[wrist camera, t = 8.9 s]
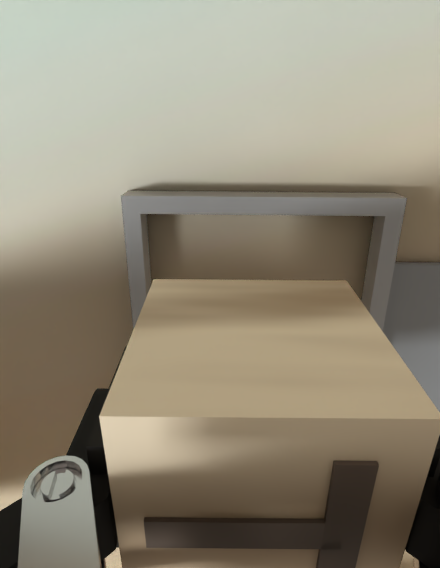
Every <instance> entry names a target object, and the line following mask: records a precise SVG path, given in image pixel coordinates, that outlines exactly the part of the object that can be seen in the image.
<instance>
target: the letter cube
mask: <svg viewBox="0 0 440 568" xmlns="http://www.w3.org/2000/svg"><path fill="white" fill-rule="evenodd" d="M99 419H100V425H101V432H102V438H103V445H104V451H105V458H106V464H107V471H108V477H109V484H110V490H111V497H112V503H113V510H114V516H115V523H116V529H117V536H118V542H119V549H120V555H121V562H122V568H399V567H400V564H401V561H402V557H403V554H404V551H405V547H406V544H407V541H408V537H409V534H410V531H411V528H412V524H413V521H414V518H415V514H416V511H417V508H418V504H419V501H420V498H421V495H422V491H423V488H424V485H425V481H426V478H427V475H428V471H429V468H430V465H431V462H432V458H433V455H434V452H435V448H436V445H437V442H438V438H439V435H440V412H439V411H438V409H437V408H436V407H435V405H434V404H433V402H432V401H431V399H430V398H429V397H428V395H427V394H426V392H425V391H424V390H423V388H422V387H421V385H420V384H419V382H418V381H417V380H416V378H415V377H414V375H413V374H412V372H411V371H410V370H409V368H408V367H407V365H406V364H405V363H404V361H403V360H402V358H401V357H400V355H399V354H398V353H397V351H396V350H395V348H394V347H393V346H392V344H391V343H390V341H389V340H388V338H387V337H386V336H385V334H384V333H383V331H382V330H381V329H380V327H379V326H378V324H377V323H376V321H375V320H374V319H373V317H372V316H371V314H370V313H369V312H368V310H367V309H366V307H365V306H364V304H363V303H362V302H361V300H360V299H359V297H358V296H357V294H356V293H355V292H354V290H353V289H352V287H351V286H350V285H349V283H348V282H347V280H206V279H153V282H152V284H151V287H150V289H149V292H148V294H147V297H146V300H145V302H144V305H143V307H142V310H141V312H140V315H139V317H138V320H137V322H136V325H135V327H134V330H133V332H132V335H131V337H130V340H129V342H128V345H127V347H126V350H125V352H124V355H123V357H122V360H121V363H120V365H119V368H118V370H117V373H116V375H115V378H114V380H113V383H112V385H111V388H110V390H109V393H108V395H107V398H106V400H105V403H104V405H103V408H102V410H101V413H100V415H99Z"/></svg>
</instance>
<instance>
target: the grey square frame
mask: <svg viewBox="0 0 440 568" xmlns="http://www.w3.org/2000/svg"><path fill="white" fill-rule="evenodd" d="M121 201H122V212H123V223H124V234H125V245H126V255H127V266H128V277H129V288H130V299H131V310H132V321H133V330H134V327H135V325H136V322H137V320H138V317H139V315H140V312H141V310H142V307H143V305H144V302H145V300H146V297H147V294H148V292H149V289H150V287H151V269H150V255H149V240H148V225H147V214H212V215H318V216H374V221H373V228H372V234H371V241H370V247H369V254H368V260H367V267H366V273H365V280H364V286H363V293H362V299H361V302H362V303H363V304H364V306H365V307H366V309H367V310H368V312H369V313H370V314H371V316H372V317H373V319H374V320H375V321H376V323H377V324H378V326H379V327H380V329H381V330H382V331H383V327H384V321H385V316H386V310H387V305H388V299H389V294H390V288H391V283H392V277H393V272H394V266H395V261H396V255H397V250H398V244H399V239H400V233H401V228H402V223H403V217H404V212H405V206H406V201H407V198H405V197H403V196H401V195H399V194H397V193H368V192H242V191H127V192H126V193H124V194H123V195H122V196H121Z"/></svg>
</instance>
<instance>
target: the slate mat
mask: <svg viewBox="0 0 440 568" xmlns="http://www.w3.org/2000/svg"><path fill="white" fill-rule="evenodd" d="M383 333H384V334H385V336H386V337H387V338H388V340H389V341H390V343H391V344H392V346H393V347H394V348H395V350H396V351H397V353H398V354H399V355H400V357H401V358H402V360H403V361H404V363H405V364H406V365H407V367H408V368H409V370H410V371H411V372H412V374H413V375H414V377H415V378H416V380H417V381H418V382H419V384H420V385H421V387H422V388H423V390H424V391H425V392H426V394H427V395H428V397H429V398H430V399H431V401H432V402H433V404H434V405H435V407H436V408H437V409H438V411H439V412H440V263H439V262H395V266H394V272H393V277H392V283H391V288H390V294H389V299H388V305H387V310H386V316H385V321H384V327H383Z"/></svg>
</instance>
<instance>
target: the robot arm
mask: <svg viewBox="0 0 440 568" xmlns="http://www.w3.org/2000/svg"><path fill="white" fill-rule="evenodd" d="M126 347H127V346H126ZM126 347H125V349H124V352H125V350H126ZM124 352H123V354H122V357H123V355H124ZM122 357H121V359H120V362H119V364H118V367H117V369H116V372H115V374H114V377H113V379H112V382H111V384H110V387H109V389H97V390H96V391H95V392H94V394H93V396H92V399H91V401H90V403H89V405H88V408H87V410H86V412H85V414H84V417H83V419H82V421H81V423H80V426H79V428H78V430H77V432H76V435H75V437H74V439H73V441H72V444H71V446H70V448H69V450H68V453H67V455H66V456H59V457H55V458H52V459H50V460H47V461H45V462H44V463H42V464H41V465H39V466H38V467H37V468H36V469H35V470H33V471H32V472H31V473H30V475H29V476H28V478H27V480H26V481H25V484H24V488H23V496H22V498H21V499H19V500H18V501H16V502H14V503H13V504H11V505H9V506H8V507H6V508H4V509H3V510H1V511H0V568H106V562H105V558H106V557H107V556H108V555H109V554H110V553H112V552H113V551H114V550H115V549H116V547H119V542H118V536H117V529H116V523H115V516H114V510H113V503H112V497H111V490H110V484H109V477H108V471H107V464H106V458H105V451H104V445H103V438H102V432H101V425H100V419H99V415H100V413H101V410H102V408H103V405H104V403H105V400H106V398H107V395H108V393H109V390H110V388H111V385H112V383H113V380H114V378H115V375H116V373H117V370H118V368H119V365H120V363H121V360H122ZM405 549H406V552H408V553H409V554H411V555H412V556H413V557H414V559H413V560H414V568H440V435H439V438H438V442H437V445H436V448H435V452H434V455H433V458H432V462H431V465H430V468H429V471H428V475H427V478H426V481H425V485H424V488H423V491H422V495H421V498H420V501H419V504H418V508H417V511H416V514H415V518H414V521H413V524H412V528H411V531H410V534H409V537H408V541H407V544H406V547H405Z"/></svg>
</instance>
